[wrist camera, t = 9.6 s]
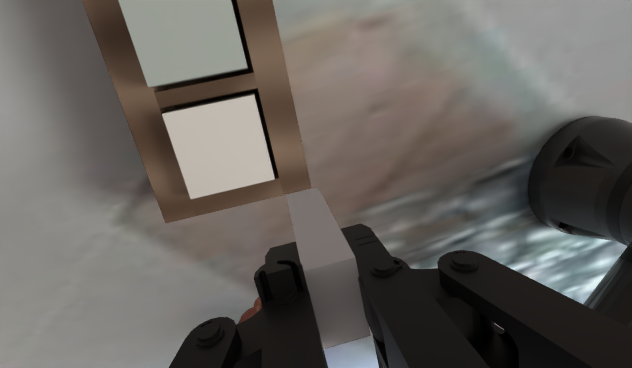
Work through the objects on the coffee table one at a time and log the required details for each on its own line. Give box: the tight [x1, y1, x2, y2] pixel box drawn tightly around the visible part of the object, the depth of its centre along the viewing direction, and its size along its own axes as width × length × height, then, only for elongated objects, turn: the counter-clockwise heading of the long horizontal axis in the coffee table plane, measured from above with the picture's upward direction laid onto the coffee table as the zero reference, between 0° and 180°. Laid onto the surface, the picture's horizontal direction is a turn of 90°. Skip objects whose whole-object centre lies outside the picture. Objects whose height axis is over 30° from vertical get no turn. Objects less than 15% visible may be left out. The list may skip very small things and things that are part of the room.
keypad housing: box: [82, 0, 311, 223], centre depth 28 cm, size 29×13×7 cm, turn 12°
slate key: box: [118, 0, 248, 87], centre depth 25 cm, size 7×7×5 cm
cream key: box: [162, 92, 275, 199], centre depth 29 cm, size 7×7×5 cm
